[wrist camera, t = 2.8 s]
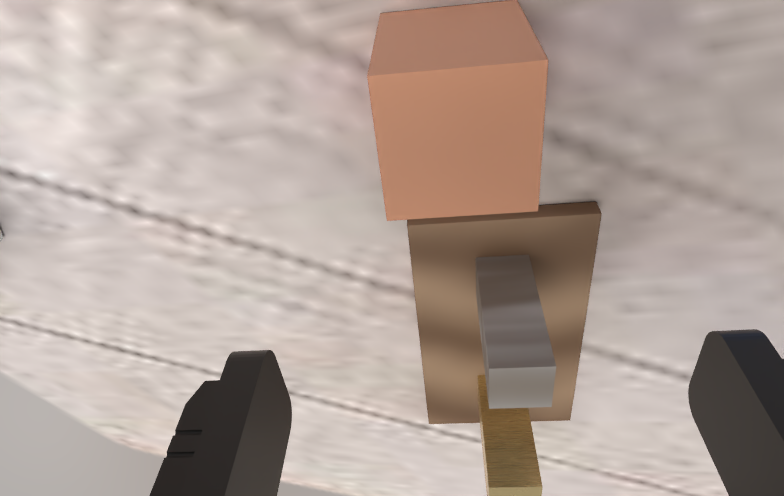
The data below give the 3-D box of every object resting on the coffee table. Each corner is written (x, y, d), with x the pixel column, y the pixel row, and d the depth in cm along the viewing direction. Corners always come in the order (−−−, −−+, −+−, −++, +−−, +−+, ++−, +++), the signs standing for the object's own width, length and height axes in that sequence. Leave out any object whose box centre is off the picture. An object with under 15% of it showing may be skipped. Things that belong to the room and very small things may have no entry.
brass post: (477, 375, 33) (488, 487, 27) (521, 373, 33) (542, 486, 27) (477, 402, 34) (488, 513, 29) (520, 400, 34) (539, 513, 29)
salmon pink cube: (380, 13, 21) (367, 76, 16) (516, -1, 21) (548, 60, 16) (394, 135, 25) (386, 220, 19) (512, 125, 24) (538, 211, 19)
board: (407, 213, 27) (403, 333, 21) (596, 201, 26) (651, 323, 20) (428, 411, 37) (430, 533, 31) (566, 407, 36) (597, 532, 30)
